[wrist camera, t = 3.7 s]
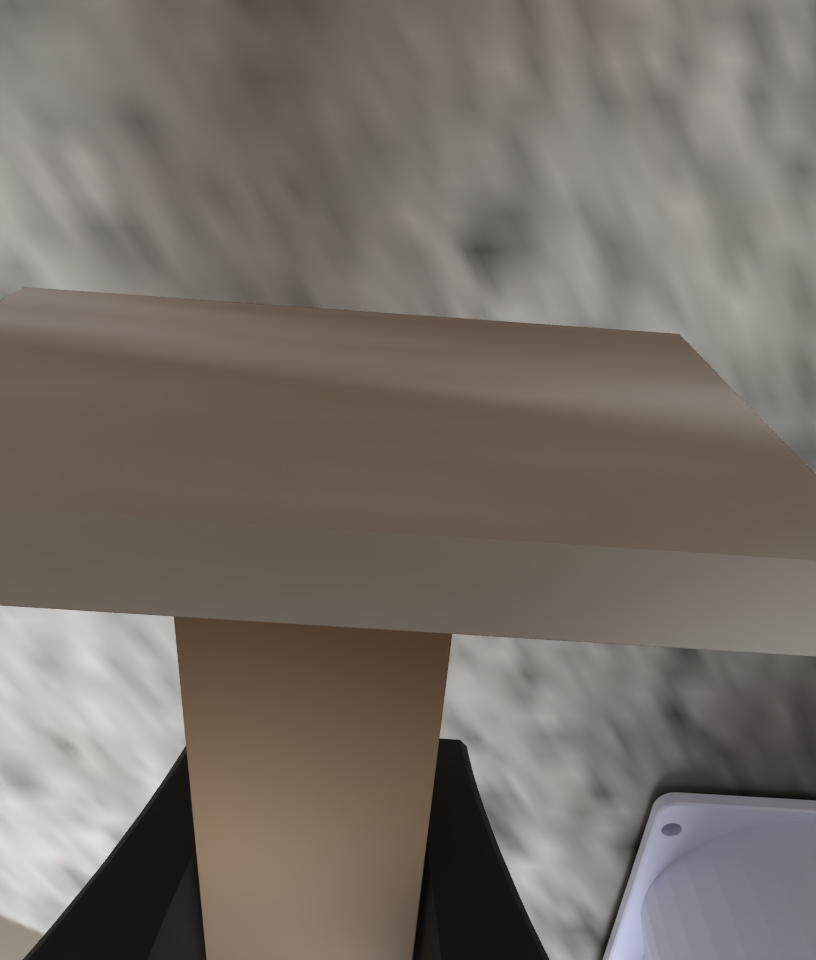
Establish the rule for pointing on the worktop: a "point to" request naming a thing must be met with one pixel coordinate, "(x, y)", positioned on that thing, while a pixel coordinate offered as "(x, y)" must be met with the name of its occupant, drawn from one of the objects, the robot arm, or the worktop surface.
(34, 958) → the robot arm
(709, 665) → the worktop surface
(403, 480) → the scraper
